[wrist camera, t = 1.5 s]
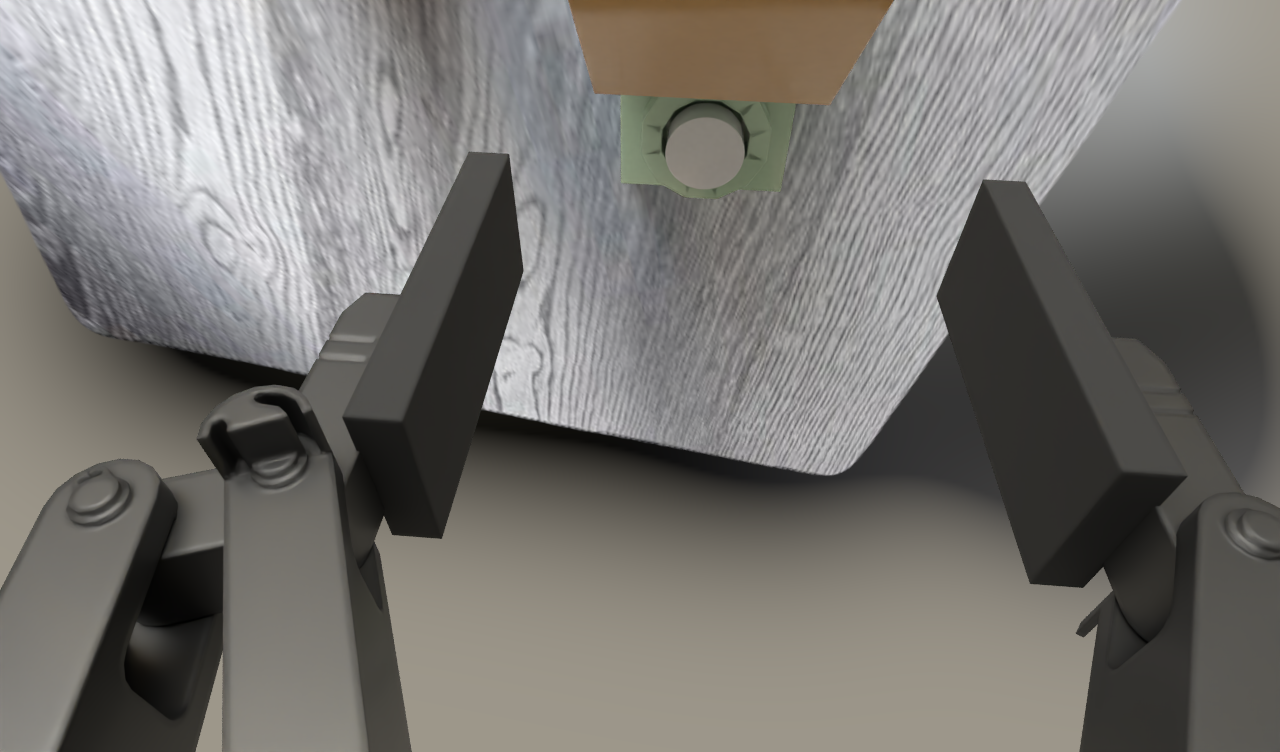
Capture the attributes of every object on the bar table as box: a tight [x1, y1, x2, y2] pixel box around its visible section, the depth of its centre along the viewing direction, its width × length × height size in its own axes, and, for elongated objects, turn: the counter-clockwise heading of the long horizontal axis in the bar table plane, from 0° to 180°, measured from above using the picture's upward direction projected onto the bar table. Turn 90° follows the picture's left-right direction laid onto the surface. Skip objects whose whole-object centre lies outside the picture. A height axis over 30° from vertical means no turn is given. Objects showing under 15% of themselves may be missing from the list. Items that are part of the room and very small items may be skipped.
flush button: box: [665, 103, 745, 189], centre depth 41 cm, size 4×4×2 cm
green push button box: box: [621, 95, 796, 199], centre depth 43 cm, size 10×8×5 cm
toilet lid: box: [568, 0, 894, 105], centre depth 28 cm, size 14×11×1 cm
